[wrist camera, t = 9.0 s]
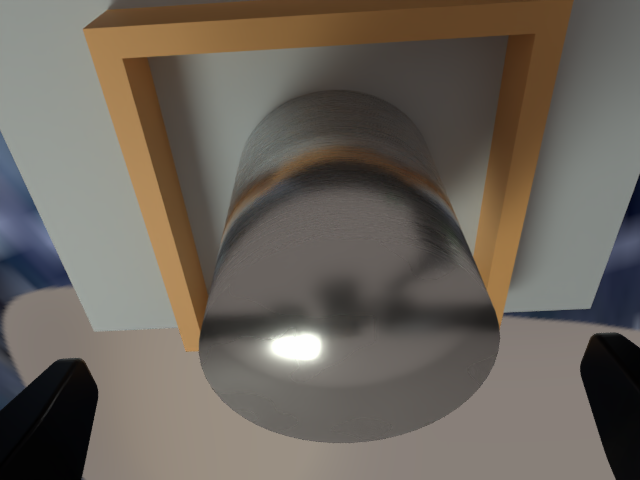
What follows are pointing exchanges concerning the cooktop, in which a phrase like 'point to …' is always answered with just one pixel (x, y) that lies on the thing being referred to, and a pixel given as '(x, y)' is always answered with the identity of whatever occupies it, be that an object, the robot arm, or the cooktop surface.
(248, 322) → the steel can
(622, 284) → the cooktop surface
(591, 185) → the grey slab with frame
